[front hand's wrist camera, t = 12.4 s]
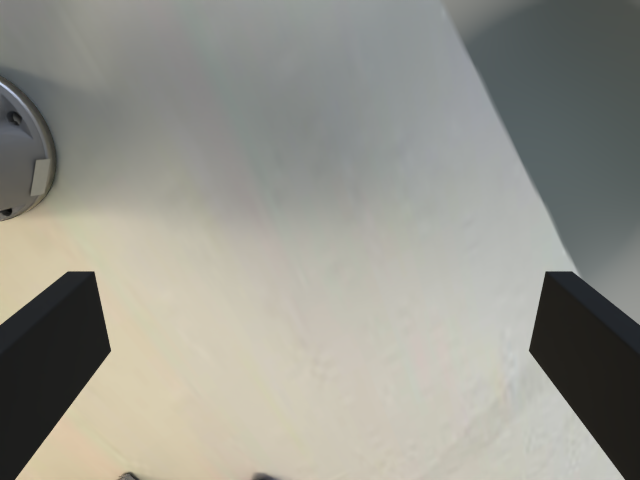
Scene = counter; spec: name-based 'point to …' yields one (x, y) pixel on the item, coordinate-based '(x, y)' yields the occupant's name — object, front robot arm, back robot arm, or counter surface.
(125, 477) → the transformer
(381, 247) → the counter surface
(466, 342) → the counter surface
